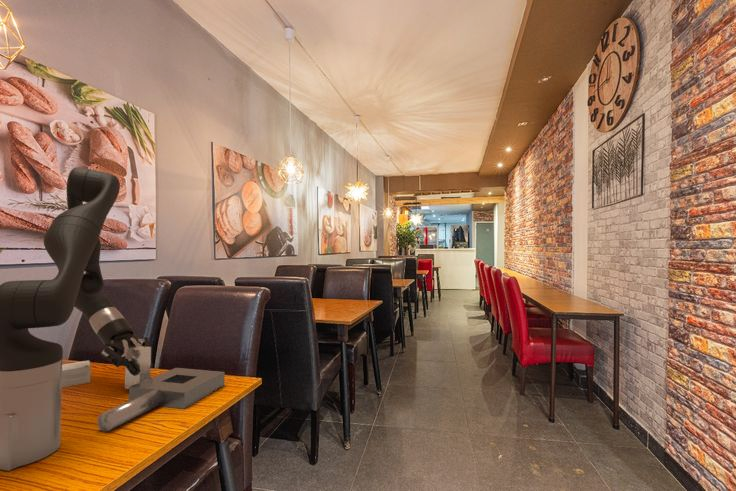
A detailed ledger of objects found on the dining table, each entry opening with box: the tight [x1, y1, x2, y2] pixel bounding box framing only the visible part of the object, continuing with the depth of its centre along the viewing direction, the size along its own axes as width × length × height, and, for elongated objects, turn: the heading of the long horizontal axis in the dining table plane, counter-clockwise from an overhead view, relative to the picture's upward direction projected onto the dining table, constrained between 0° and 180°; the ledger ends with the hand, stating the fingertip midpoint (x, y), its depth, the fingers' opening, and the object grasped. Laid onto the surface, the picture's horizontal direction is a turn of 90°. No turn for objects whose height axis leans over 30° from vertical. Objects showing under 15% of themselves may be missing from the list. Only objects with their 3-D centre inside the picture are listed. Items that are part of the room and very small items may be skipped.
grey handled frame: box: [97, 367, 226, 433], centre depth 87 cm, size 29×17×4 cm, turn 167°
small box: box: [62, 360, 91, 388], centre depth 102 cm, size 8×8×5 cm
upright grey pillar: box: [124, 346, 152, 390], centre depth 96 cm, size 4×5×11 cm
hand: (143, 371), depth 96 cm, fingers closed on upright grey pillar, 3 cm apart
